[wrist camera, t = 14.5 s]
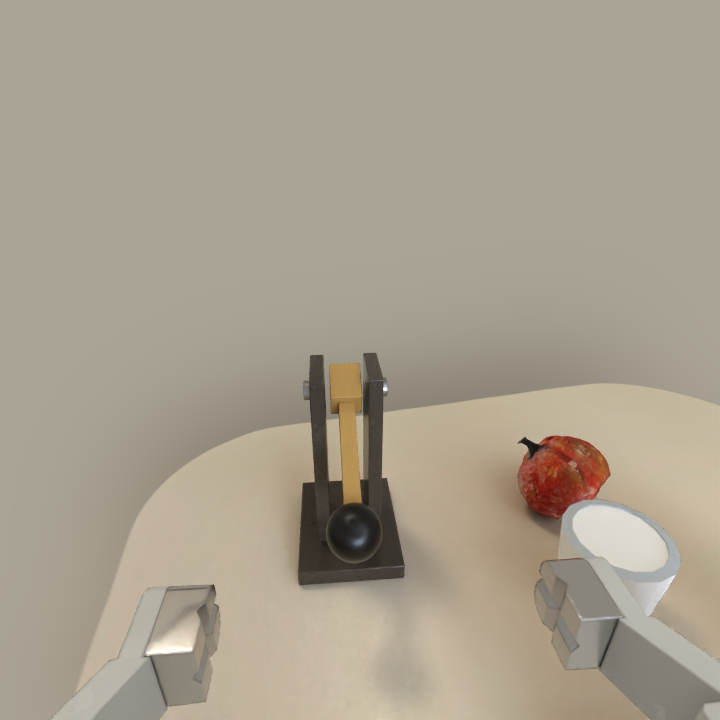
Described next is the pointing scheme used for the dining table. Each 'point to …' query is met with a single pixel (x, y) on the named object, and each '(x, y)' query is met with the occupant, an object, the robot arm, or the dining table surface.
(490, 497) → the dining table surface
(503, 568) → the dining table surface
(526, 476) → the pomegranate
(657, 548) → the white cup
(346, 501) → the latch lever
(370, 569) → the grey lever stand
